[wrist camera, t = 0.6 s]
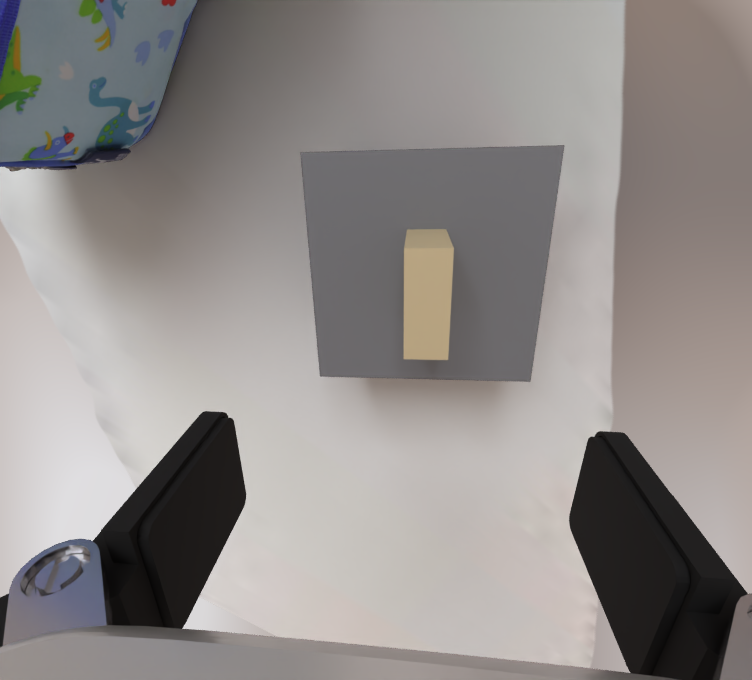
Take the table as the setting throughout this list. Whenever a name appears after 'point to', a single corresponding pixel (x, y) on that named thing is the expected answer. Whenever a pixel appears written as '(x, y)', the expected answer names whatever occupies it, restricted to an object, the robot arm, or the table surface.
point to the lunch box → (83, 77)
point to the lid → (429, 259)
